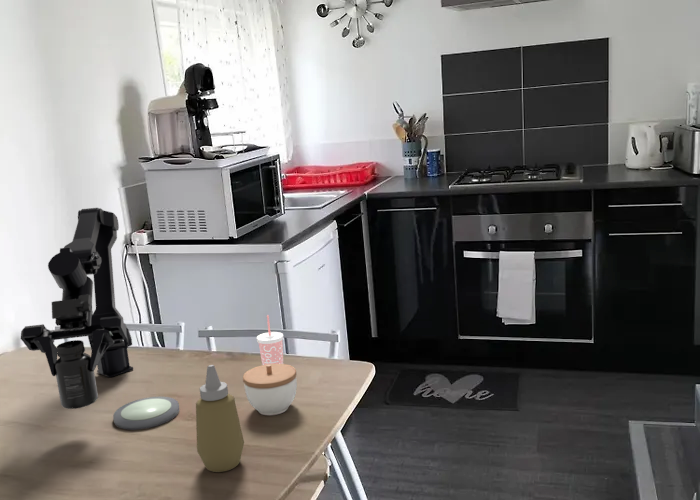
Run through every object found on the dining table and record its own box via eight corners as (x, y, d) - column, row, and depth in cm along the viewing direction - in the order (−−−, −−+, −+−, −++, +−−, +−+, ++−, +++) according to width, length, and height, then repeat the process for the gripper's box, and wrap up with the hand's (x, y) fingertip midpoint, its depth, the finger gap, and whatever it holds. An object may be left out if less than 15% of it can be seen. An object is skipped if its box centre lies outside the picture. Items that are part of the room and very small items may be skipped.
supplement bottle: (105, 396, 135) (96, 338, 133) (82, 411, 129) (72, 351, 126) (77, 393, 137) (68, 337, 135) (53, 408, 131) (42, 349, 129)
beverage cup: (255, 376, 157) (249, 318, 154) (268, 367, 162) (262, 310, 160) (279, 379, 155) (272, 319, 152) (291, 369, 160) (285, 311, 157)
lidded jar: (308, 410, 137) (304, 366, 135) (259, 425, 132) (254, 380, 130) (285, 393, 146) (281, 352, 144) (238, 407, 141) (233, 364, 139)
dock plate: (158, 396, 150) (157, 390, 149) (191, 411, 141) (191, 404, 141) (102, 418, 141) (101, 412, 140) (134, 435, 132) (133, 429, 131)
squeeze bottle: (202, 455, 122) (190, 360, 118) (247, 450, 122) (236, 355, 119) (196, 479, 114) (182, 377, 110) (244, 473, 115) (233, 372, 111)
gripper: (14, 287, 131) (5, 361, 122) (115, 276, 133) (113, 348, 125) (33, 314, 140) (26, 385, 132) (127, 304, 143) (126, 373, 134)
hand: (72, 373), depth 130 cm, fingers closed on supplement bottle, 7 cm apart
